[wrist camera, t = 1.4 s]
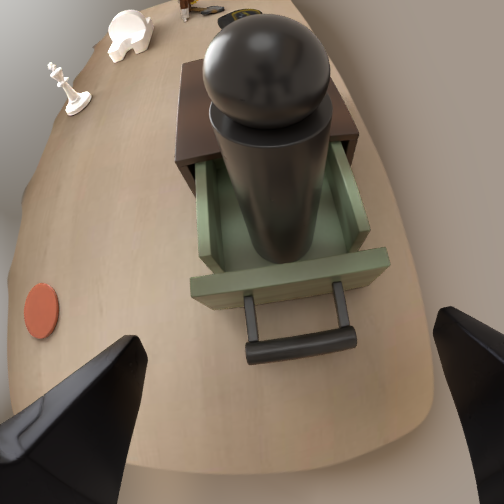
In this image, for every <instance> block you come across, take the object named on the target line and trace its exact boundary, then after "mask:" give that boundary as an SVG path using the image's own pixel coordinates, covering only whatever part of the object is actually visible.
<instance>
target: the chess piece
mask: <svg viewBox="0 0 504 504" xmlns="http://www.w3.org/2000/svg"><path fill="white" fill-rule="evenodd" d="M55 67H56V65H53V64H52V63H49V70H50V69H52V71H53V73H52V74H51V77H52V78H53V79H55V80H56V81H58V82H59V83H58V85H57V86H58V87H61V86H62V87H63V89H64V90H65V92H66V94H67V96H68V98H69V104H68V105H67V107H66V112H67V114H68V115H70V116H71V115H74V114H76V113H78V112H80V111H81V110H82V109H83V108H85V107H86V105H87V104H88V103H89V102H90V100H91V94H89V92H83V93H81V94H80V93H77V92H76V91H75V90H74V89H73V88H72V87H71V86H70V85H69V84H68V83H67V81H68V79H69V78H68V77H65V78H64V77H63V73H62V68H58V69H56V68H55Z"/></svg>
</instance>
